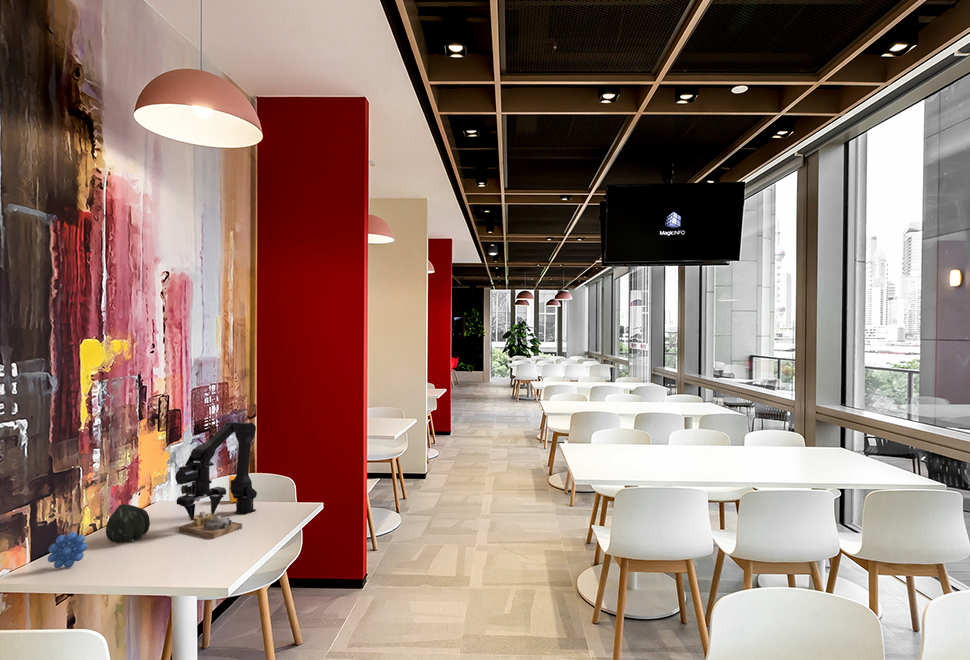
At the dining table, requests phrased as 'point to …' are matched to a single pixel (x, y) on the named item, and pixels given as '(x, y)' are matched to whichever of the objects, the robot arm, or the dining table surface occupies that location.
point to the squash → (127, 524)
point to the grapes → (67, 550)
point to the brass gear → (201, 519)
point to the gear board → (210, 532)
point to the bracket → (230, 490)
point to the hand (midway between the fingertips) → (202, 517)
